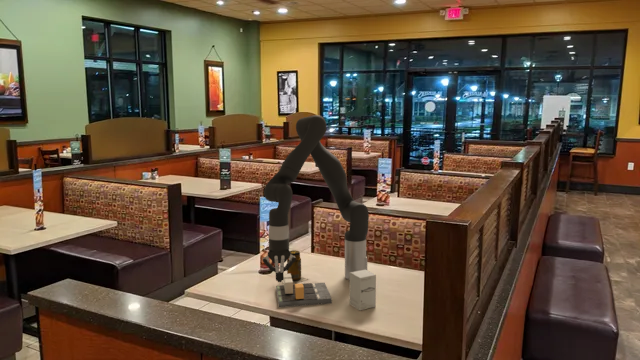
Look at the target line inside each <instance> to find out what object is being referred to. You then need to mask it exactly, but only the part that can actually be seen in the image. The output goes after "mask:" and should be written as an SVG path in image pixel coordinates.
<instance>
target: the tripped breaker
mask: <svg viewBox="0 0 640 360" xmlns="http://www.w3.org/2000/svg"><path fill="white" fill-rule="evenodd" d="M294 284H295V297H296V299H304V287H303V284H304V283H302V282H300V283H294Z"/></svg>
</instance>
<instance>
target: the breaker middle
mask: <svg viewBox="0 0 640 360" xmlns="http://www.w3.org/2000/svg"><path fill="white" fill-rule="evenodd" d="M293 284H294V283H293V281H292V279H284V286H285V294H290V293H293Z"/></svg>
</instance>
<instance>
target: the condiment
mask: <svg viewBox="0 0 640 360" xmlns="http://www.w3.org/2000/svg"><path fill="white" fill-rule="evenodd" d="M289 251H290V253H291V255H293V256H295V257H296V260H295V262H294V263H293V264H292V266H291V267H290V268H289V269H288V271H286V274H290V273H291V277H292V281H293V284H298V283H302V282H303V281H307V280H308V278H306V277H304V276H302V257H301V252H300V251H299V250H289ZM289 258H290V257H289ZM289 258H288V259H287V261H286V264H287V263H288V262H289Z"/></svg>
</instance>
